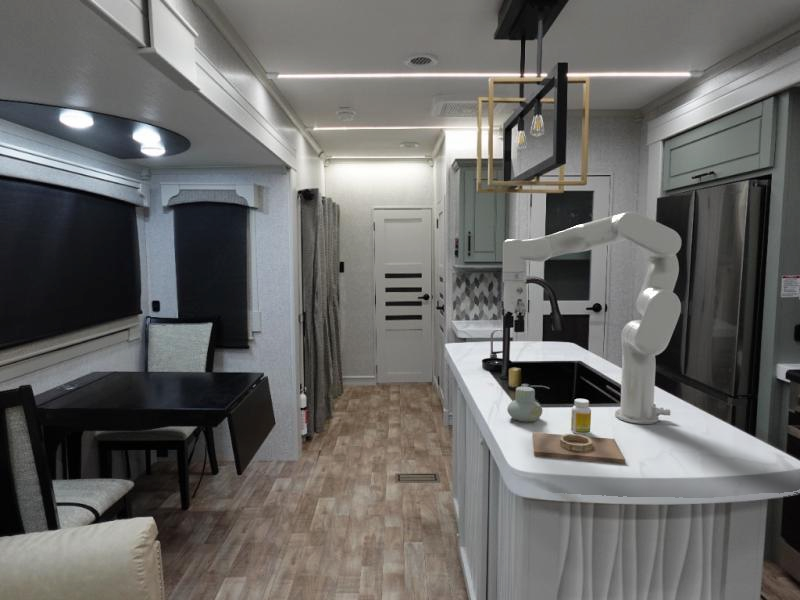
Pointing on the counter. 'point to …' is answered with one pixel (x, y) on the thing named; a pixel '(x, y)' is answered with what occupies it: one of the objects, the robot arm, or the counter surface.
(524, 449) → the counter surface
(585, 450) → the wooden board
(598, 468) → the counter surface
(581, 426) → the supplement bottle
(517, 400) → the air freshener
